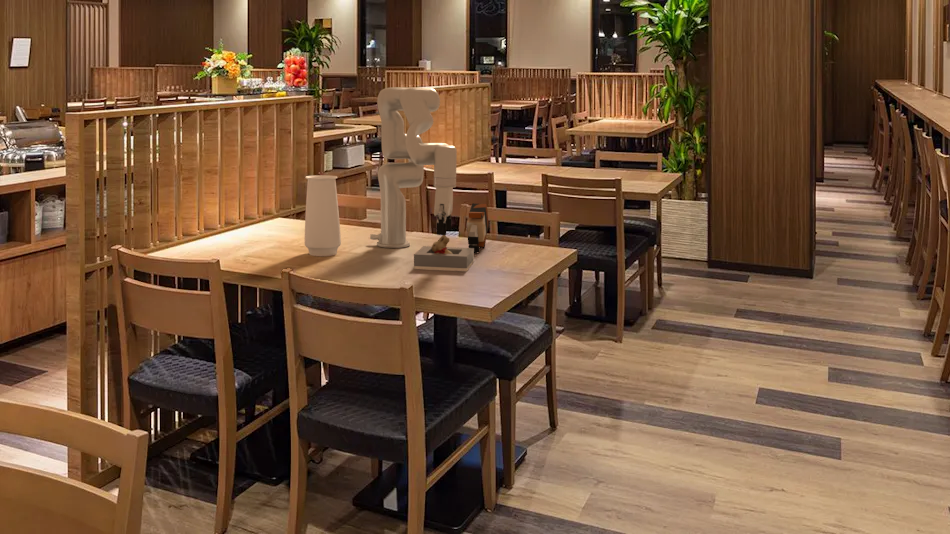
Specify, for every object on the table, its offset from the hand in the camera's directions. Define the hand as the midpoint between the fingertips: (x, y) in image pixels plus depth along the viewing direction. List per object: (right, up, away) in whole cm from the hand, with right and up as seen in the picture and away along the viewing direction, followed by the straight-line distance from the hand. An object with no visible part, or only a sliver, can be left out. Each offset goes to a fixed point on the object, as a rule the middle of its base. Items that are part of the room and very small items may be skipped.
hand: (444, 232), depth 305 cm
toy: (+11, -5, +34) cm, 36 cm away
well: (0, -11, +2) cm, 12 cm away
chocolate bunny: (0, -11, +2) cm, 11 cm away
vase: (-45, -7, +20) cm, 49 cm away
